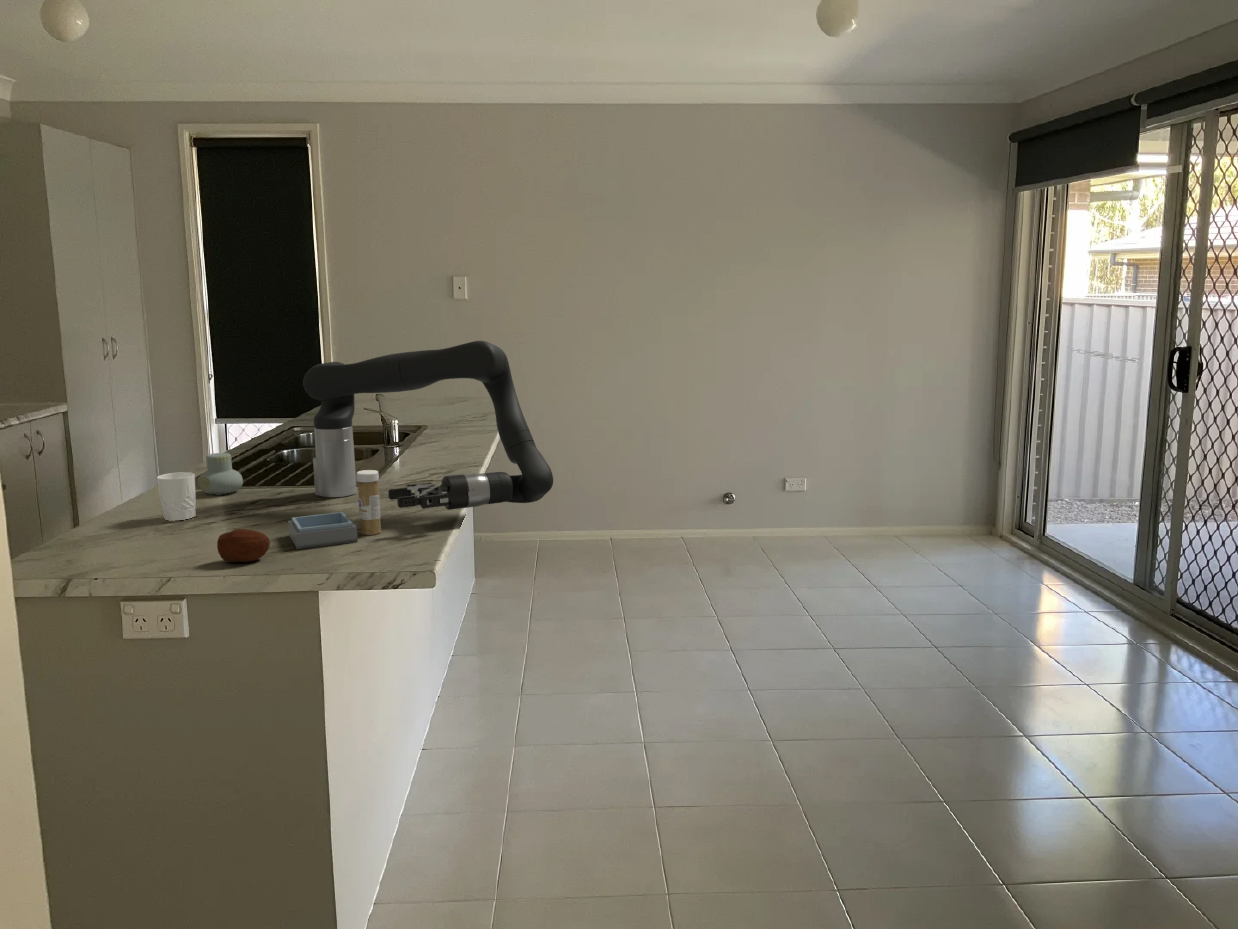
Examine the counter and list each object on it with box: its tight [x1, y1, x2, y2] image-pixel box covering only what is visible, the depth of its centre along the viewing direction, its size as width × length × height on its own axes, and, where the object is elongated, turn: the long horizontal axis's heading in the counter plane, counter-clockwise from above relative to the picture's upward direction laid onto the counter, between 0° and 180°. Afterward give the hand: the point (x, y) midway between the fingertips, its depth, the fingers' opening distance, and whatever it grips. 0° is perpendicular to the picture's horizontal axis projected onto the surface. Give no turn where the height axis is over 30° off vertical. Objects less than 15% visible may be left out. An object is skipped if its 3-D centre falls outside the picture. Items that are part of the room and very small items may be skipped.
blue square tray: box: [287, 511, 359, 550], centre depth 202 cm, size 12×12×4 cm
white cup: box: [156, 471, 197, 522], centre depth 221 cm, size 8×8×10 cm
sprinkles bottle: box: [355, 469, 382, 536], centre depth 206 cm, size 5×5×13 cm
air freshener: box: [198, 452, 244, 495], centre depth 247 cm, size 11×8×10 cm
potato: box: [216, 528, 271, 563], centre depth 187 cm, size 7×9×6 cm
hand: (393, 498), depth 208 cm, fingers open, 8 cm apart
